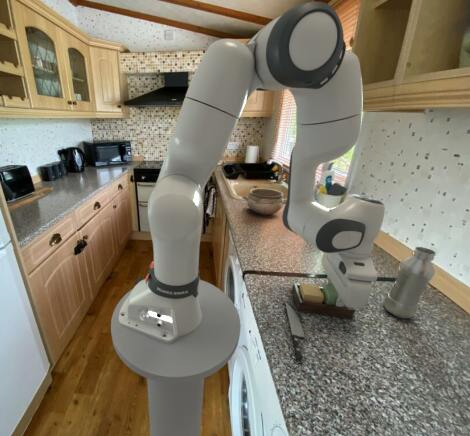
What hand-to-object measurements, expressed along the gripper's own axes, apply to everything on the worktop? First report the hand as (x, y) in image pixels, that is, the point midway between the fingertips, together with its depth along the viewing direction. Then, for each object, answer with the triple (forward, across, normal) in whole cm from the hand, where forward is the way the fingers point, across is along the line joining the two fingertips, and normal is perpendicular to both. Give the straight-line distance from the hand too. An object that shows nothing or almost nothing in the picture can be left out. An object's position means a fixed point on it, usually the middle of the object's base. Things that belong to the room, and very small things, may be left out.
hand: (334, 297), depth 69 cm
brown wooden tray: (+3, 0, -3) cm, 4 cm away
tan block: (+2, 0, -6) cm, 7 cm away
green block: (+2, 0, 0) cm, 2 cm away
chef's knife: (+3, +11, -12) cm, 17 cm away
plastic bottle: (+3, -1, +17) cm, 17 cm away
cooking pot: (+3, -71, -12) cm, 72 cm away
